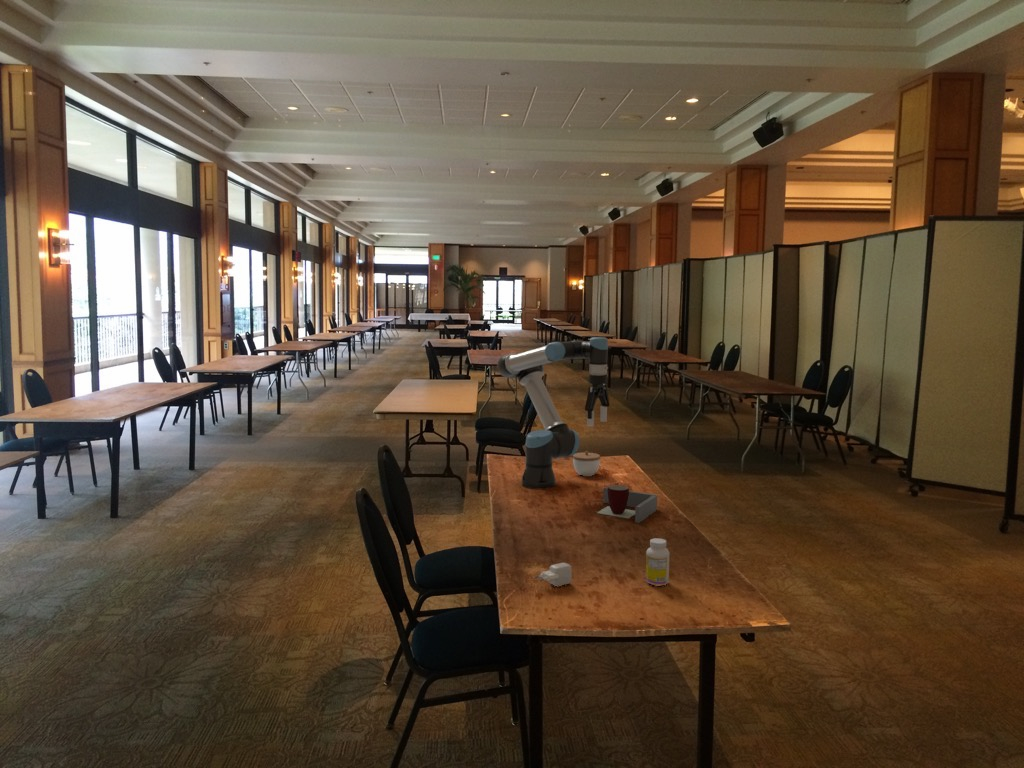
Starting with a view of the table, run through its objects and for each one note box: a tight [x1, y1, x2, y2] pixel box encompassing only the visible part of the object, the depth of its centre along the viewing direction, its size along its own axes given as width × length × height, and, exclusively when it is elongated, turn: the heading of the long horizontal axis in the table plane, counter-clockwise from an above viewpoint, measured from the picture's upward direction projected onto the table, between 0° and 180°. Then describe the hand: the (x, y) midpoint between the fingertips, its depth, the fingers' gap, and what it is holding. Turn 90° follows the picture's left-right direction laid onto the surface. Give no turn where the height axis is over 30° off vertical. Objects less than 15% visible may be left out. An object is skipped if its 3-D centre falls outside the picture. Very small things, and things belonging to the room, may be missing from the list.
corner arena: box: [597, 486, 658, 524], centre depth 293 cm, size 22×20×6 cm
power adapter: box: [534, 562, 573, 587], centre depth 219 cm, size 11×5×6 cm, turn 122°
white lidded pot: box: [572, 450, 601, 477], centre depth 352 cm, size 13×13×11 cm
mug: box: [607, 484, 630, 514], centre depth 291 cm, size 10×8×10 cm
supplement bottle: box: [645, 537, 670, 585], centre depth 222 cm, size 7×7×13 cm
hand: (597, 424), depth 322 cm, fingers open, 13 cm apart
